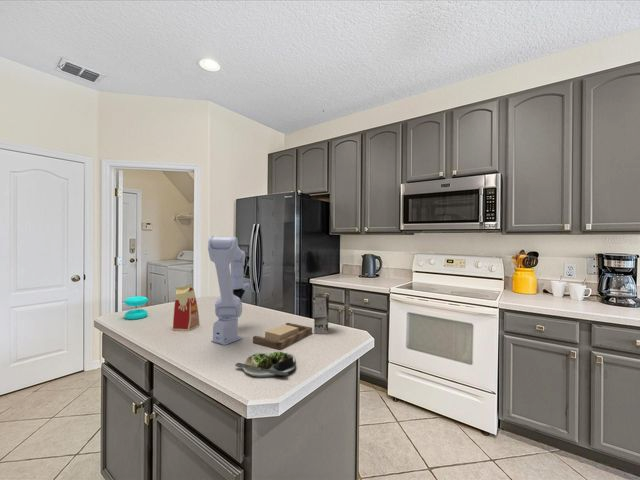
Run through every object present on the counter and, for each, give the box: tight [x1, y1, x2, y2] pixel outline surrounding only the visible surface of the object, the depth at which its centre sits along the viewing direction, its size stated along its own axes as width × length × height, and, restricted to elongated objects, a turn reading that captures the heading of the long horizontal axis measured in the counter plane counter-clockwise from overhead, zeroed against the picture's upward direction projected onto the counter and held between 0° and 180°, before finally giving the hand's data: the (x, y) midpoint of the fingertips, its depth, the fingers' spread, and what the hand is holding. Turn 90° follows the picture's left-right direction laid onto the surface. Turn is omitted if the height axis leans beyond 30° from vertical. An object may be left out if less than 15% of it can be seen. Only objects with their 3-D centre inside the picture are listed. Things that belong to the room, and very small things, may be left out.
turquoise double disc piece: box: [124, 295, 149, 320], centre depth 151 cm, size 10×10×10 cm
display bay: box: [252, 322, 313, 351], centre depth 125 cm, size 23×14×2 cm, turn 150°
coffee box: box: [313, 293, 330, 335], centre depth 136 cm, size 9×6×16 cm
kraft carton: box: [264, 323, 299, 341], centre depth 125 cm, size 12×8×4 cm, turn 147°
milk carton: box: [172, 284, 201, 332], centre depth 136 cm, size 9×9×20 cm
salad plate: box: [235, 351, 297, 378], centre depth 97 cm, size 19×18×5 cm
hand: (236, 305), depth 137 cm, fingers closed
